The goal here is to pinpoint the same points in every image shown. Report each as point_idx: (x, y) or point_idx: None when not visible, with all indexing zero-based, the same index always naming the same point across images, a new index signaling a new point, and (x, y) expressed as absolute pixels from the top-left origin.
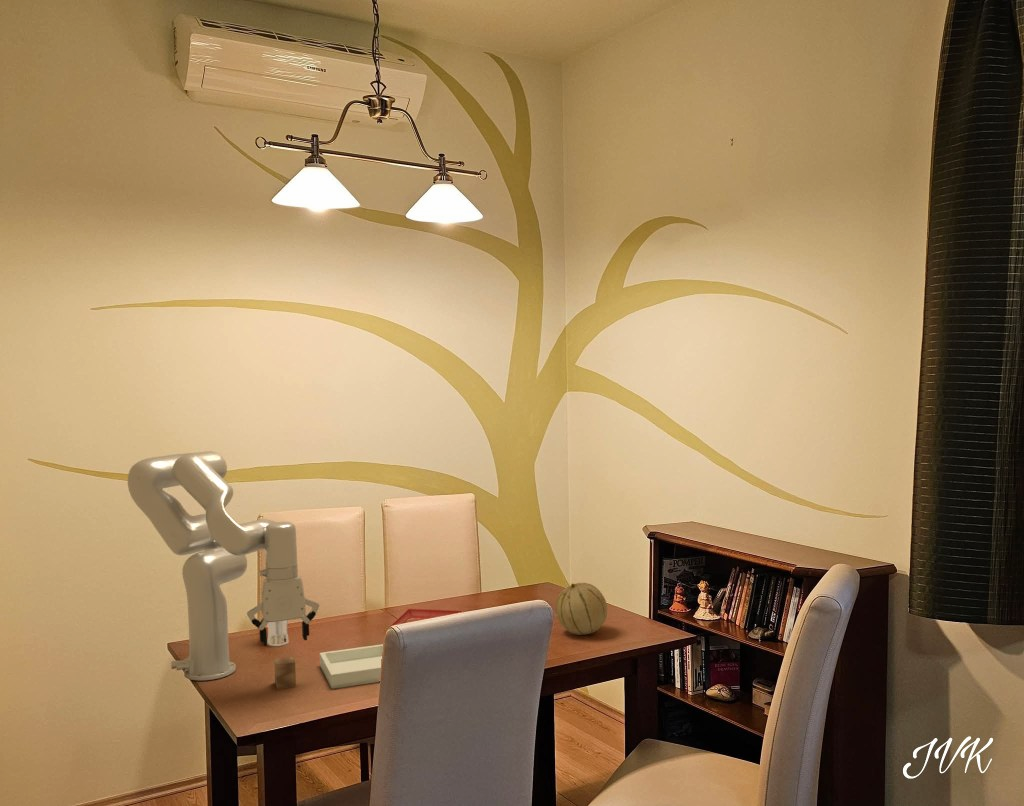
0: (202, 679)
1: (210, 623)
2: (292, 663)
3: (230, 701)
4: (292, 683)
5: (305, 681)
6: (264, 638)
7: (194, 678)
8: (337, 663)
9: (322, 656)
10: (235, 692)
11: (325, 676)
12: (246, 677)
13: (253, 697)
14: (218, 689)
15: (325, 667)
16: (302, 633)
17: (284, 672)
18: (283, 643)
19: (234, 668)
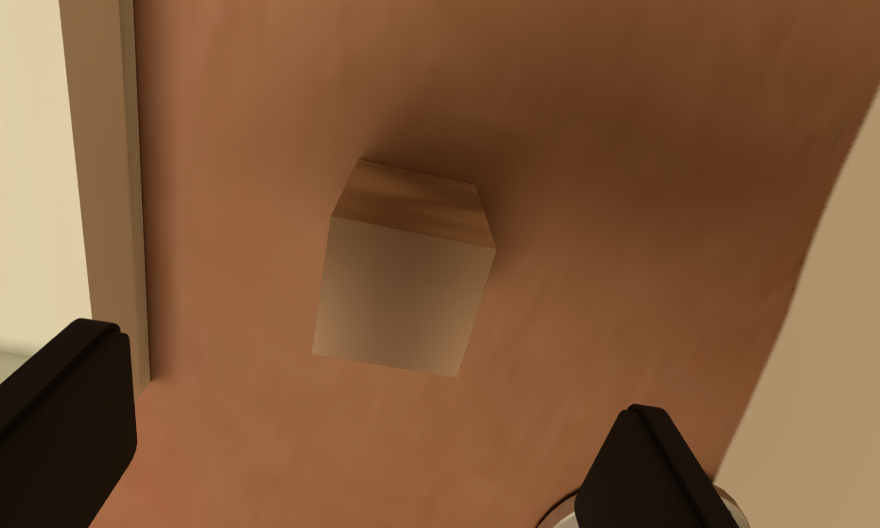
0: (714, 486)
1: None
2: (357, 218)
3: (781, 153)
4: (378, 168)
5: (281, 204)
6: (705, 484)
7: (738, 507)
8: (32, 336)
9: None
10: (681, 273)
11: (140, 205)
12: (536, 429)
13: (650, 131)
14: (717, 359)
15: (100, 215)
16: (107, 487)
17: (428, 209)
18: None
19: (553, 522)
